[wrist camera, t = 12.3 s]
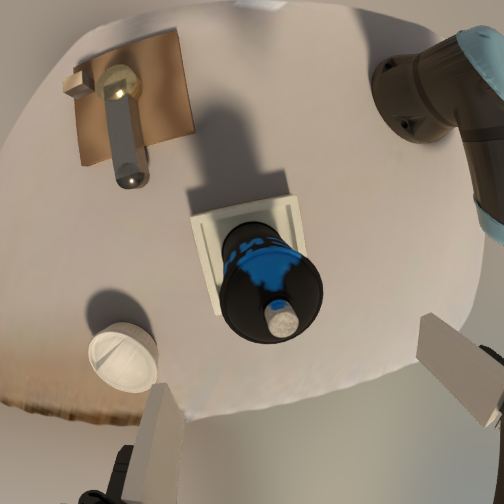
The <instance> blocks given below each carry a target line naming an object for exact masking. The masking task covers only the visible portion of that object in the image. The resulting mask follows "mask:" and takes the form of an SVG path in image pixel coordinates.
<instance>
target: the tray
mask: <svg viewBox="0 0 504 504" xmlns="http://www.w3.org/2000/svg"><path fill="white" fill-rule="evenodd" d="M190 220H191V224H192V228H193V233H194V237H195V241H196V245H197V249H198V253H199V257H200V261H201V265H202V269H203V272H204V276H205V280H206V284H207V287H208V291H209V295H210V298H211V302H212V306H213V309H214V313H215V316H216V315H221V314H222V312H221V308H220V299H219V294H220V289H221V284H222V282H223V261H222V256H221V249H222V245H223V242H224V239H225V237H226V236H227V234H228V233H229V232H230V231H231V230H232V229H233V228H234V227H236V226H238V225H239V224H242V223H244V222H250V221H258V222H262V223H265V224H267V225H270V226H271V227H272V228H274V229H275V230H276V231H277V232H278V234H279V235H280V237H281V238H282V239H283V240H284V241H285V242H286V243H287V244H288V245H289V246H290V247H291V248H292V249H293V250H294V251H297V252H299V253H301V254H302V255H304V256H305V257H306V258H307V254H306V247H305V241H304V235H303V229H302V223H301V217H300V211H299V205H298V200H297V195H294V194H287V195H282V196H277V197H272V198H267V199H262V200H257V201H252V202H247V203H242V204H238V205H233V206H228V207H224V208H219V209H215V210H210V211H206V212H202V213H197V214H193V215H192V216H191V217H190Z"/></svg>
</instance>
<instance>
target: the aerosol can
mask: <svg viewBox="0 0 504 504" xmlns="http://www.w3.org/2000/svg"><path fill="white" fill-rule="evenodd" d="M221 256H222V261H223V282H222V284H221V289H220V294H219V299H220V308H221V312H222V315H223V317H224V319H225V321H226V323H227V324H228V325H229V327H230V328H231V329H232V330H233V331H234V332H235V333H236V334H238V335H239V336H241V337H242V338H244V339H246V340H248V341H251V342H254V343H260V344H277V343H281V342H285V341H288V340H290V339H293V338H295V337H296V336H298V335H300V334H301V333H302V332H304V331H305V330H306V329H307V328H308V327H309V326H310V325H311V324H312V322H313V321H314V320H315V318H316V317H317V315H318V313H319V311H320V308H321V305H322V300H323V284H322V280H321V277H320V274H319V272H318V271H317V269H316V267H315V266H314V264H313V263H312V262H311V261H310V260H309V259H308V258H306V257H305V256H304V255H302V254H301V253H299V252H297V251H294V250H293V249H292V248H291V247H290V246H289V245H288V244H287V243H286V242H285V241H284V240H283V239H282V238H281V237H280V235H279V234H278V232H277V231H276V230H275V229H274V228H272V227H271V226H270V225H267V224H265V223H262V222H258V221H250V222H244V223H242V224H239V225H238V226H236V227H234V228H233V229H232V230H231V231H230V232H229V233H228V234H227V236H226V237H225V239H224V242H223V245H222V249H221Z"/></svg>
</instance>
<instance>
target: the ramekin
mask: <svg viewBox="0 0 504 504" xmlns="http://www.w3.org/2000/svg"><path fill="white" fill-rule="evenodd" d="M88 356H89V360H90V363H91V365H92V367H93V369H94V370H95V372H96V373H97V374H98V375H99V377H100V378H101V379H102V380H104V381H105V382H106V383H107V384H109V385H111V386H112V387H114V388H116V389H119V390H122V391H125V392H133V393H136V392H143V391H145V390H148V389H149V388H151V386H152V384H154V383H155V382H156V379H157V376H158V349H157V346H156V344H155V342H154V340H153V339H152V337H151V336H150V335H149V334H148V333H147V332H146V331H145V330H143V329H142V328H140V327H139V326H136V325H134V324H131V323H125V322H118V323H115V324H112V325H110V326H108V327H107V328H106V329H104V330H102V331H100V332H98V333H97V334H96V335H95V336H94V337H93V338H92V339H91V341H90V343H89V347H88Z"/></svg>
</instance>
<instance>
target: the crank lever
mask: <svg viewBox="0 0 504 504" xmlns="http://www.w3.org/2000/svg"><path fill="white" fill-rule="evenodd" d="M142 90H143V86H142V82H141V81H140V79H139V78H138V77H137V76H136V74H135V73H134V72H133V71H132V70H131V68H130V67H128V66H126V65H121V64H120V65H115V66H112V67H110V68H108V69H107V70H105V71H104V72H103V73H102V75H101V76H100V77H99V79H98V81H97V85H96V92H97V95H98V97H99V98H100V99H102V100H103V101H104V102H105V111H106V120H107V128H108V135H109V142H110V148H111V154H112V160H113V166H114V171H115V176H116V181H117V183H118V185H119V186H120V187H121V188H124V189H138V188H142V187H144V186H145V185H146V184H147V183H148V181H149V177H150V175H149V169H148V164H147V159H146V154H145V148H144V143H143V137H142V131H141V125H140V118H139V112H138V105H137V101H138V99H139V98H140V96H141V94H142Z"/></svg>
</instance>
